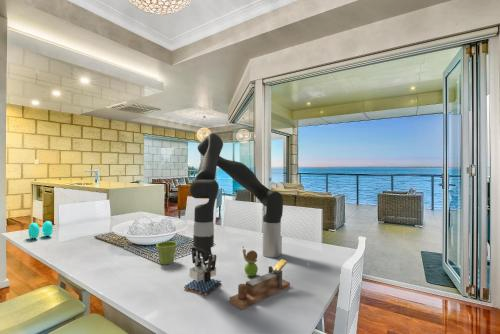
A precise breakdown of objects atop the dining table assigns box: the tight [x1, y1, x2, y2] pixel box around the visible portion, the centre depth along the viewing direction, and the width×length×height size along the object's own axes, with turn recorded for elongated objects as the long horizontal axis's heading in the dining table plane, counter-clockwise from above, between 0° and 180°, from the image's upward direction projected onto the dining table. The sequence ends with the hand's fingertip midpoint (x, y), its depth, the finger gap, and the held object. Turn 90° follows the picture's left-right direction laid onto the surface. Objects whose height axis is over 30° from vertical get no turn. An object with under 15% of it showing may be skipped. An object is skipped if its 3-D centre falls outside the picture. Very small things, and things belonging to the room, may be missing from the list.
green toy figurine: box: [242, 246, 259, 277], centre depth 103 cm, size 5×6×12 cm
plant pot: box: [155, 240, 178, 266], centre depth 116 cm, size 9×9×9 cm
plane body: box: [228, 266, 291, 310], centre depth 88 cm, size 24×6×7 cm, turn 132°
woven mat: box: [183, 278, 222, 296], centre depth 92 cm, size 10×11×2 cm
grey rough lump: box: [189, 264, 217, 281], centre depth 93 cm, size 8×6×3 cm
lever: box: [271, 258, 288, 274], centre depth 94 cm, size 1×4×6 cm
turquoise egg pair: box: [28, 220, 54, 239], centre depth 155 cm, size 10×10×10 cm
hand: (202, 278), depth 92 cm, fingers closed on grey rough lump, 5 cm apart
